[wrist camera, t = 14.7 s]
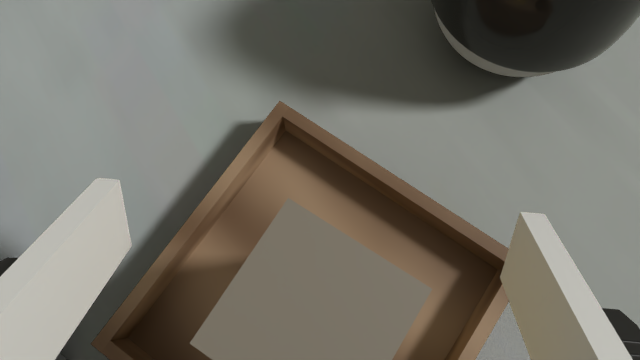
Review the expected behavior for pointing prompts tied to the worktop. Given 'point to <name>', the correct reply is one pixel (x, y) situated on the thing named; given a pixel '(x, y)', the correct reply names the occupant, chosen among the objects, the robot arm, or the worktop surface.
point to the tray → (339, 211)
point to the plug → (311, 298)
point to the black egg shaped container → (533, 32)
